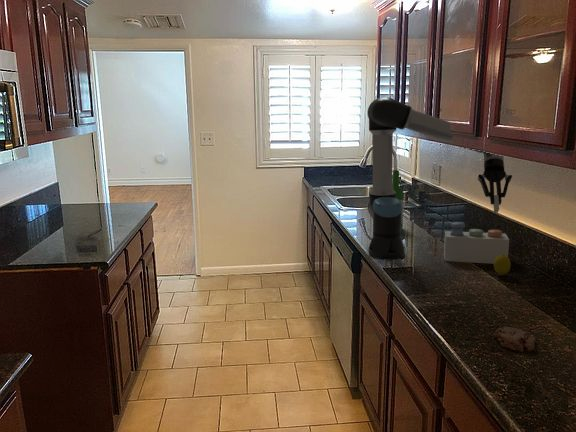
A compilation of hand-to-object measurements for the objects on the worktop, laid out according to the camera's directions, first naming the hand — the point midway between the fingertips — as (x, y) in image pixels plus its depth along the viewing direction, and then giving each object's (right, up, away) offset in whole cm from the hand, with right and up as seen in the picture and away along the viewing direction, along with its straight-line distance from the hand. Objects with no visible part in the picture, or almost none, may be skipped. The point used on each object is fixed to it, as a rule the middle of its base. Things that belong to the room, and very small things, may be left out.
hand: (496, 210), depth 179 cm
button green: (-6, -14, +5) cm, 16 cm away
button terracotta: (0, -14, +3) cm, 15 cm away
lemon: (-4, -24, -12) cm, 27 cm away
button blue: (-13, -11, +6) cm, 19 cm away
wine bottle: (-27, -9, +56) cm, 63 cm away
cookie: (-22, -36, -59) cm, 72 cm away
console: (-6, -19, +6) cm, 21 cm away
